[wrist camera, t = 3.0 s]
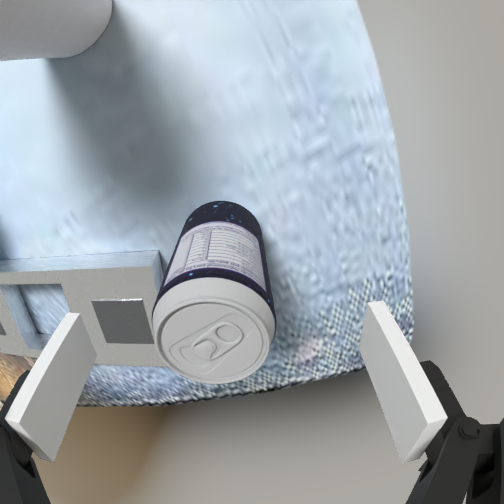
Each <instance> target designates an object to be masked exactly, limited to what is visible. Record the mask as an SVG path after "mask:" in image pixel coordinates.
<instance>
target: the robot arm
mask: <svg viewBox="0 0 504 504" xmlns="http://www.w3.org/2000/svg"><path fill="white" fill-rule="evenodd" d="M359 351H360V353H361V355H362V358H363V360H364V363H365V366H366V368H367V371H368V373H369V375H370V378H371V381H372V383H373V385H374V389H375V391H376V394H377V396H378V399H379V402H380V405H381V407H382V410H383V413H384V415H385V418H386V421H387V424H388V426H389V429H390V432H391V435H392V438H393V441H394V443H395V446H396V449H397V452H398V455H399V458H400V461H401V464H402V463H406V462H409V461H413V460H416V459H419V458H420V457H421V456H422V454H423V453H424V452H426V455H427V457H428V459H427V460H426V461H425V463H424V464H423V465H422V466H421V468H420V469H419V471H421V473H420V475H419V478H418V480H417V482H416V484H415V486H414V488H413V490H412V492H411V494H410V496H409V498H408V500H407V502H406V504H462V503H463V500H464V498H465V495H466V492H467V496H466V504H504V418H503V420H502V421H501V422H500V424H488V425H487V424H486V425H483V424H480V423H479V422H478V421H477V420H475V419H473V418H471V417H467V416H466V415H465V413H464V412H463V410H462V408H461V406H460V404H459V402H458V401H457V399H456V397H455V395H454V393H453V391H452V390H451V388H450V387H449V384H448V383H447V381H446V380H445V378H444V376H443V374H442V372H441V370H440V369H439V368H438V367H437V366H436V365H435V364H434V363H433V362H431V361H430V360H429V361H424V362H418V360H417V358H416V356H415V354H414V353H413V351H412V349H411V347H410V345H409V344H408V342H407V340H406V338H405V337H404V335H403V333H402V331H401V330H400V328H399V326H398V325H397V323H396V321H395V320H394V318H393V316H392V315H391V313H390V311H389V310H388V308H387V306H386V305H385V303H384V301H378V302H368V304H367V309H366V315H365V320H364V325H363V330H362V335H361V340H360V344H359ZM96 358H97V354H96V351H95V349H94V347H93V344H92V342H91V340H90V337H89V335H88V332H87V330H86V327H85V325H84V322H83V320H82V317H81V314H80V313H67V314H66V315H65V317H64V318H63V320H62V321H61V323H60V324H59V326H58V327H57V329H56V331H55V332H54V334H53V335H52V337H51V338H50V340H49V341H48V343H47V345H46V346H45V348H44V350H43V351H42V353H41V354H40V356H39V358H38V359H37V361H36V363H35V364H34V366H33V368H32V369H31V371H29V370H27V371H25V372H24V373H23V374H22V375H21V376H20V377H19V379H18V380H17V382H16V384H15V385H14V388H13V389H12V391H11V392H10V395H9V396H8V398H7V400H6V401H5V403H4V405H3V407H2V409H1V411H0V504H51V503H50V501H49V498H48V496H47V494H46V491H45V489H44V486H43V484H42V481H41V479H40V476H39V473H38V470H37V468H36V465H35V462H34V460H33V458H32V457H31V455H32V452H34V453H35V454H36V455H37V456H38V457H39V458H40V459H43V460H47V461H50V462H53V463H54V462H55V459H56V456H57V453H58V450H59V448H60V445H61V442H62V440H63V437H64V434H65V432H66V429H67V426H68V424H69V421H70V419H71V416H72V414H73V411H74V409H75V406H76V404H77V402H78V399H79V397H80V394H81V392H82V390H83V387H84V385H85V383H86V380H87V378H88V376H89V374H90V371H91V369H92V367H93V365H94V362H95V360H96Z"/></svg>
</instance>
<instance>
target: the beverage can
mask: <svg viewBox="0 0 504 504" xmlns="http://www.w3.org/2000/svg"><path fill="white" fill-rule="evenodd" d="M152 327H153V331H154V334H155V345H156V349H157V351H158V353H159V356H160V357H161V359H162V360H163V361H164V362H165V364H166V365H167V366H168V367H170V368H171V369H172V370H173V371H175V372H176V373H178V374H179V375H181V376H183V377H185V378H187V379H190V380H193V381H197V382H201V383H208V384H224V383H231V382H235V381H238V380H241V379H244V378H246V377H248V376H250V375H251V374H253V373H254V372H256V371H257V370H258V369H259V368H260V367H261V366H262V364H263V363H264V362H265V360H266V358H267V356H268V353H269V349H270V345H271V343H272V341H273V339H274V336H275V332H276V316H275V310H274V304H273V298H272V292H271V286H270V280H269V274H268V268H267V263H266V257H265V251H264V245H263V239H262V234H261V229H260V226H259V224H258V222H257V220H256V218H255V217H254V216H253V215H252V213H251V212H249V211H248V210H247V209H246V208H244V207H242V206H241V205H238V204H236V203H233V202H228V201H214V202H210V203H207V204H204V205H202V206H200V207H199V208H197V209H196V210H195V211H194V212H193V213H192V214H191V215H190V216H189V217H188V219H187V220H186V222H185V225H184V227H183V230H182V232H181V235H180V237H179V240H178V242H177V245H176V247H175V250H174V252H173V255H172V258H171V260H170V263H169V266H168V268H167V271H166V274H165V276H164V279H163V282H162V284H161V287H160V290H159V293H158V295H157V298H156V301H155V304H154V307H153V310H152Z"/></svg>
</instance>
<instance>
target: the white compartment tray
mask: <svg viewBox="0 0 504 504" xmlns="http://www.w3.org/2000/svg"><path fill="white" fill-rule="evenodd" d="M163 279H164V276H163V271H162V266H161V260H160V255H159V250H155V251H138V252H122V253H105V254H90V255H74V256H58V257H43V258H28V259H13V260H0V353H6V354H12V355H19V356H26V357H33V358H39V356H40V354H41V353H42V351H43V350H44V348H45V346H46V345H47V343H48V341H49V340H50V338H51V337H52V335H49V334H38V332H37V330H36V328H35V326H34V323H33V321H32V319H31V317H30V314H29V312H28V310H27V308H26V305H25V303H24V300H23V298H22V295H21V293H20V290H19V288H18V285H17V284H61V286H62V289H63V292H64V295H65V298H66V300H67V303H68V306H69V308H70V311H71V313H80V314H81V317H82V320H83V322H84V325H85V327H86V330H87V332H88V335H89V337H90V340H91V342H92V344H93V347H94V349H95V351H96V354H97V358H96V360H95V362H94V364H107V365H126V366H159V367H168V366H167V365H166V364H165V362H164V361H163V360H162V359H161V357H160V356H159V353H158V351H157V349H156V345H155V334H154V331H153V327H152V310H153V307H154V304H155V301H156V298H157V295H158V293H159V290H160V287H161V284H162V282H163Z"/></svg>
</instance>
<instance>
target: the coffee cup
mask: <svg viewBox="0 0 504 504" xmlns="http://www.w3.org/2000/svg"><path fill="white" fill-rule="evenodd" d="M111 14H112V0H0V61H6V60H18V59H35V58H66V57H71V56H75V55H77V54H79V53H81V52H83V51H85V50H86V49H88V48H89V47H90V46H92V45H93V44H94V43H95V42H96V41H97V40H98V39H99V37H100V36H101V35H102V34H103V32H104V31H105V29H106V27H107V25H108V23H109V20H110V18H111Z"/></svg>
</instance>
